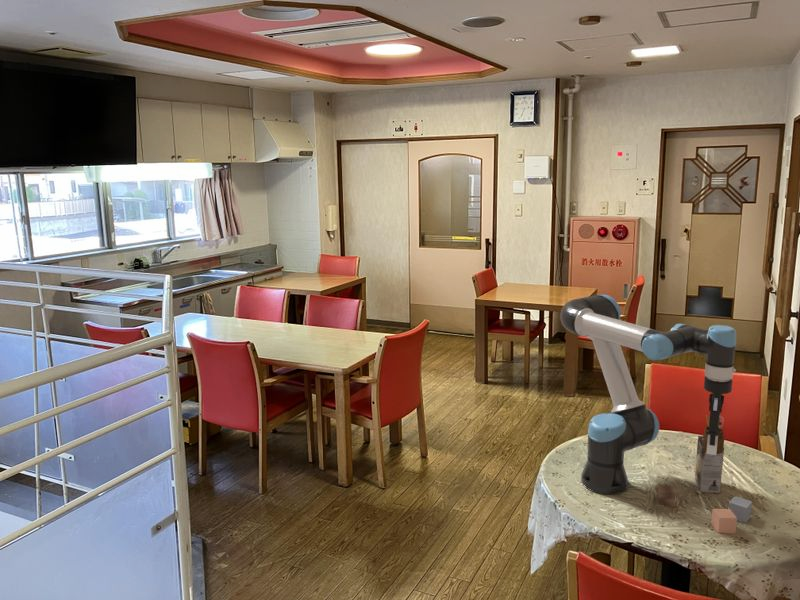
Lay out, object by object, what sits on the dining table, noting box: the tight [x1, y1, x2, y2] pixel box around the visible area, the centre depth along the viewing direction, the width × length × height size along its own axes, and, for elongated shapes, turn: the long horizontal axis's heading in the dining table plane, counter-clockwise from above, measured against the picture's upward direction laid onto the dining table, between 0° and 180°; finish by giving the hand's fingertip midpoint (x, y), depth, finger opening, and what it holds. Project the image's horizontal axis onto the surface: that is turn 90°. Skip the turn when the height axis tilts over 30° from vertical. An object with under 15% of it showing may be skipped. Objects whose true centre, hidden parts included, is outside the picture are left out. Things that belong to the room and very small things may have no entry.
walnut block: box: [656, 483, 677, 508], centre depth 210 cm, size 5×5×5 cm
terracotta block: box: [710, 508, 738, 534], centre depth 195 cm, size 5×5×5 cm
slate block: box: [728, 496, 753, 524], centre depth 201 cm, size 5×5×5 cm
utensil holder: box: [702, 414, 725, 454], centre depth 199 cm, size 6×6×12 cm
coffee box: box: [694, 435, 725, 494], centre depth 218 cm, size 9×6×16 cm
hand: (712, 449), depth 200 cm, fingers closed on utensil holder, 6 cm apart
